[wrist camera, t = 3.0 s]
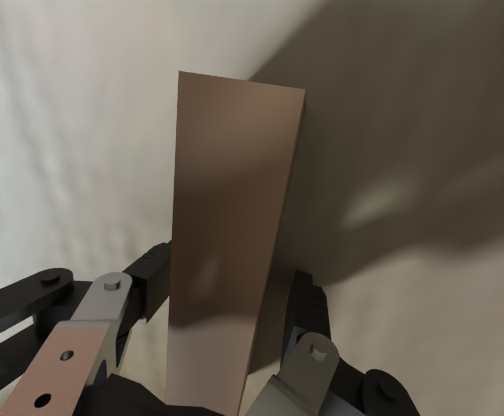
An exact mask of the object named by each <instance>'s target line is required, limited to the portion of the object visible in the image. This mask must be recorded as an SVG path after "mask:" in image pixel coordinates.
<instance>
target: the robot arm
mask: <svg viewBox="0 0 504 416" xmlns="http://www.w3.org/2000/svg"><path fill="white" fill-rule="evenodd" d="M171 248H172V240H171V241H169V242H168V243H161V244H158V245H156V246H154V247H153V248H151V249H150V250H149V251H148V252H147V253H145V254H144V255H143V256H142V257H140V258H139V259H138V260H136V261H135V262H134V263H133V264H131V265H130V266H129V267H128V268H126V269H125V270H124V271H122V272H111V273H107V274H104V275H102V276H100V277H98V278H97V279H96V280H94V282H90V281H74V279H73V273H72V272H71V271H70V270H68V269H65V268H52V269H47V270H44V271H41V272H38V273H36V274H34V275H31V276H29V277H27V278H24V279H22V280H20V281H18V282H15V283H13V284H11V285H8V286H6V287H4V288H2V289H0V333H1V332H3V331H5V330H7V329H9V328H10V327H12V326H14V325H16V324H17V323H19V322H21V321H23V320H25V319H26V318H28V317H30V316H32V317H33V322H34V324H32V325H30V326H29V327H27V328H25V329H24V330H22V331H20V332H18V333H17V334H15V335H13V336H12V337H10V338H8V339H7V340H5V341H3V342H1V343H0V390H1V389H3V388H4V387H6V386H7V385H8V384H10V383H11V382H12V381H14V380H15V379H17V378H18V377H19V376H21V375H22V374H23V376H22V377H21V379H20V380H19V382H18V384H17V385H16V387H15V388H14V390H13V391H12V393H11V394H10V396H9V397H8V399H7V400H6V402H5V403H4V405H3V406H2V408H1V409H0V416H225V415H223V414H220V413H217V412H215V411H212V410H209V409H207V408H204V407H196V406H179V405H167V404H165V403H163V402H162V401H161V400H159V399H158V398H157V397H156V396H155V395H153V394H152V393H151V392H150V391H149V390H147V389H146V388H145V387H144V386H143V385H141V384H140V383H137V382H135V381H132V380H129V379H127V378H124V377H121V376H119V373H120V370H121V367H122V364H123V360H124V357H125V354H126V350H127V347H128V344H129V340H130V337H131V334H132V327H133V325H134V324H135V323H136V322H137V321H138V322H141V323H144V324H147V323H148V321H149V320H150V319H151V318H152V316H153V315H154V314H155V313H156V311H157V310H158V309H159V308H160V306H161V305H162V304H163V303H164V301H165V300H166V299H167V298H168V296H169V295H170V273H171ZM245 416H420V415H419V413H418V411H417V409H416V407H415V405H414V403H413V401H412V400H411V398H410V396H409V394H408V392H407V391H406V389H405V388H404V387H403V386H402V384H401V383H400V382H399V381H398V380H397V379H395V378H394V377H393V376H391V375H390V374H388V373H386V372H384V371H382V370H378V369H371V370H369V371H367V372H366V374H363V373H362V372H360V371H358V370H357V369H355V368H354V367H352V366H350V365H349V364H347V363H346V362H345V361H344V360H343V359H342V358H341V357H340V356H339V352H338V350H337V348H336V346H335V345H334V343H333V342H332V341H331V333H330V325H329V316H328V307H327V299H326V295H325V293H324V292H323V290H322V288H321V287H317V286H314V285H313V281H312V274H310V273H306V272H303V271H299V270H297V271H296V274H295V277H294V281H293V284H292V287H291V291H290V294H289V298H288V302H287V308H286V317H285V326H284V336H283V345H282V354H281V363H280V371H279V372H278V373H277V375H275V374H273V375H272V376H271V377H270V379H269V380H268V382H267V383H266V384H265V386H264V387H263V389H262V390H261V392H260V393H259V395H258V396H257V398H256V399H255V401H254V402H253V404H252V405H251V407H250V408H249V410H248V411H247V413H246V414H245Z"/></svg>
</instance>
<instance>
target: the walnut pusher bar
mask: <svg viewBox="0 0 504 416" xmlns="http://www.w3.org/2000/svg"><path fill="white" fill-rule="evenodd" d="M305 109H306V89H300V88H293V87H286V86H279V85H272V84H265V83H258V82H252V81H245V80H238V79H231V78H224V77H217V76H210V75H203V74H196V73H189V72H183V71H179V78H178V102H177V126H176V151H175V175H174V200H173V224H172V248H171V273H170V297H169V321H168V346H167V370H166V394H165V404H167V405H179V406H196V407H204V408H207V409H209V410H212V411H215V412H217V413H220V414H223V415H225V416H238V414H239V410H240V406H241V401H242V397H243V393H244V389H245V384H246V380H247V376H248V371H249V367H250V362H251V358H252V353H253V348H254V344H255V339H256V335H257V330H258V325H259V321H260V316H261V311H262V307H263V302H264V298H265V293H266V288H267V284H268V279H269V275H270V270H271V265H272V261H273V256H274V252H275V247H276V242H277V238H278V233H279V229H280V224H281V219H282V215H283V210H284V205H285V201H286V196H287V192H288V187H289V182H290V178H291V173H292V169H293V164H294V159H295V155H296V150H297V146H298V141H299V136H300V132H301V127H302V123H303V118H304V113H305Z"/></svg>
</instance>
